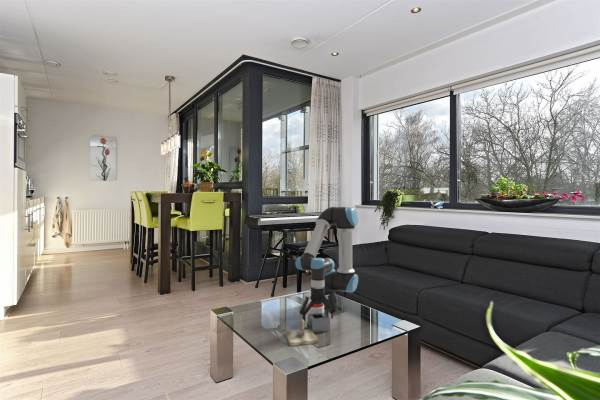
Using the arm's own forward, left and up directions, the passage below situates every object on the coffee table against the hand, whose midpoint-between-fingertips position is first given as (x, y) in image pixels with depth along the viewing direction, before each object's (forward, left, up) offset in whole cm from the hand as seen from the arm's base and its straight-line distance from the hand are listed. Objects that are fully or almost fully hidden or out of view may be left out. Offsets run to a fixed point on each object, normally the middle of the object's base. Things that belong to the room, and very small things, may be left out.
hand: (317, 325), depth 193 cm
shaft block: (+12, +10, -2) cm, 15 cm away
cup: (-2, -10, -2) cm, 10 cm away
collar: (0, 0, -2) cm, 2 cm away
